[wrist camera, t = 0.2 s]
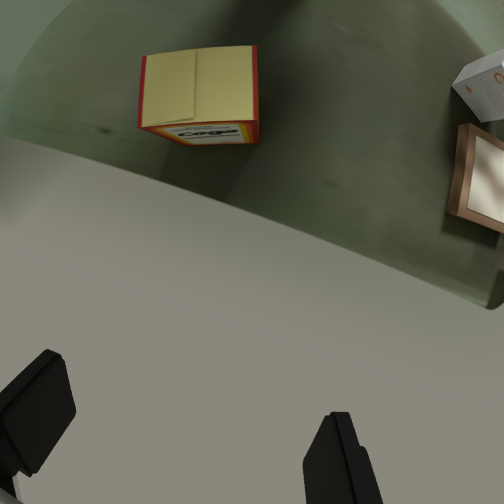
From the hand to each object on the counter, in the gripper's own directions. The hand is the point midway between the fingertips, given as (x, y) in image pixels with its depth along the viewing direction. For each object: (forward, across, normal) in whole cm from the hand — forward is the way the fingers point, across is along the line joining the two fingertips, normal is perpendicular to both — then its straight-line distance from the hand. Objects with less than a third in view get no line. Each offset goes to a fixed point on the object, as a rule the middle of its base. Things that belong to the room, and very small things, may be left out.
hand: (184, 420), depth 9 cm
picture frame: (+31, -36, -16) cm, 50 cm away
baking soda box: (+31, +5, -15) cm, 35 cm away
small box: (+31, -32, -30) cm, 54 cm away
